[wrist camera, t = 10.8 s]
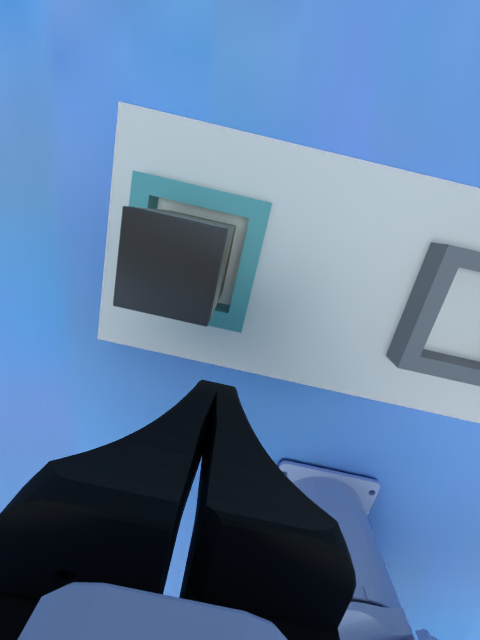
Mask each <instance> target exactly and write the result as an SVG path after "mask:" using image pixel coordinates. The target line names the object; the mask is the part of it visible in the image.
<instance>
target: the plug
mask: <svg viewBox="0 0 480 640" xmlns="http://www.w3.org/2000/svg"><path fill="white" fill-rule="evenodd" d="M235 230H236V226H235V225H231V224H226V223H222V222H218V221H213V220H209V219H205V218H200V217H196V216H192V215H187V214H183V213H179V212H175V211H170V210H161V209H150V208H140V207H129V206H123V209H122V219H121V229H120V239H119V249H118V259H117V269H116V279H115V288H114V298H113V306H116V307H121V308H125V309H130V310H134V311H138V312H143V313H147V314H152V315H156V316H161V317H165V318H170V319H174V320H179V321H183V322H188V323H192V324H197V325H201V326H206V327H207V326H208V323H209V321H210V319H211V317H212V314H213V312H214V310H215V307H216V305H217V303H218V300H219V298H220V296H221V294H222V291H223V287H224V282H225V277H226V273H227V268H228V263H229V258H230V254H231V249H232V244H233V239H234V234H235Z"/></svg>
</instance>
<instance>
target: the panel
mask: <svg viewBox="0 0 480 640" xmlns="http://www.w3.org/2000/svg"><path fill="white" fill-rule="evenodd" d="M123 206H129V207H140V208H150V209H161V210H170V211H175V212H179V213H183V214H187V215H192V216H196V217H200V218H205V219H209V220H213V221H218V222H222V223H226V224H231V225H235V226H236V230H235V234H234V239H233V244H232V249H231V254H230V258H229V263H228V268H227V273H226V277H225V282H224V287H223V291H222V294H221V296H220V298H219V300H218V303H217V305H216V307H215V310H214V312H213V314H212V317H211V319H210V321H209V323H208V326H207V327H206V326H201V325H197V324H192V323H188V322H183V321H179V320H174V319H170V318H165V317H161V316H156V315H152V314H147V313H143V312H138V311H134V310H130V309H125V308H121V307H116V306H113V298H114V288H115V279H116V269H117V259H118V249H119V239H120V229H121V219H122V209H123ZM98 339H100V340H104V341H109V342H114V343H118V344H123V345H127V346H132V347H136V348H141V349H145V350H150V351H154V352H159V353H163V354H168V355H172V356H177V357H182V358H186V359H191V360H195V361H200V362H204V363H209V364H213V365H218V366H222V367H227V368H231V369H236V370H240V371H245V372H250V373H254V374H259V375H263V376H268V377H272V378H277V379H281V380H286V381H290V382H295V383H299V384H304V385H308V386H313V387H317V388H322V389H327V390H331V391H336V392H340V393H345V394H349V395H354V396H358V397H363V398H367V399H372V400H376V401H381V402H385V403H390V404H395V405H399V406H404V407H408V408H413V409H417V410H422V411H426V412H431V413H435V414H440V415H444V416H449V417H453V418H458V419H463V420H467V421H472V422H476V423H480V188H477V187H473V186H468V185H464V184H460V183H456V182H452V181H448V180H443V179H439V178H435V177H431V176H427V175H423V174H419V173H414V172H410V171H406V170H402V169H398V168H394V167H389V166H385V165H381V164H377V163H373V162H369V161H365V160H360V159H356V158H352V157H348V156H344V155H340V154H335V153H331V152H327V151H323V150H319V149H315V148H310V147H306V146H302V145H298V144H294V143H290V142H286V141H281V140H277V139H273V138H269V137H265V136H261V135H256V134H252V133H248V132H244V131H240V130H236V129H232V128H227V127H223V126H219V125H215V124H211V123H207V122H202V121H198V120H194V119H190V118H186V117H182V116H178V115H173V114H169V113H165V112H161V111H157V110H153V109H148V108H144V107H140V106H136V105H132V104H128V103H124V102H119V105H118V116H117V127H116V138H115V149H114V160H113V172H112V183H111V194H110V205H109V216H108V227H107V239H106V250H105V261H104V272H103V283H102V294H101V306H100V317H99V328H98Z"/></svg>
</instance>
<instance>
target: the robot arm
mask: <svg viewBox="0 0 480 640" xmlns="http://www.w3.org/2000/svg"><path fill="white" fill-rule="evenodd" d="M201 457H202V463H201V471H200V480H199V489H198V498H197V507H196V515H195V522H194V528H193V533H192V538H191V543H190V548H189V552H188V557H187V562H186V567H185V572H184V577H183V582H182V587H181V592H180V597H179V598H177V597H172V596H167V595H163V592H164V587H165V583H166V579H167V575H168V571H169V567H170V562H171V558H172V554H173V550H174V546H175V542H176V537H177V533H178V529H179V525H180V521H181V518H182V514H183V511H184V508H185V505H186V502H187V499H188V496H189V493H190V490H191V487H192V484H193V481H194V478H195V475H196V472H197V469H198V466H199V463H200V460H201ZM283 471H285V472H286V473H283ZM370 490H372V491H370ZM379 490H380V484H379V482H378V481H377V480H375V479H371V478H366V477H361V476H357V475H352V474H347V473H343V472H338V471H333V470H329V469H324V468H319V467H314V466H310V465H305V464H300V463H296V462H291V461H285V460H284V461H282V462H280V463H279V466H277V465H276V464H275V463H274V461H273V460H272V459H271V458H270V456H269V455H268V454H267V452H266V451H265V449H264V448H263V446H262V445H261V443H260V442H259V440H258V438H257V437H256V435H255V433H254V431H253V430H252V428H251V426H250V424H249V422H248V419H247V417H246V415H245V413H244V411H243V408H242V406H241V403H240V400H239V397H238V394H237V390H236V388H235V387H233V386H228V385H224V384H219V383H215V382H210V381H205V380H201V381H199V382H198V383H197V385H196V386H195V387H194V388H193V389H192V390H191V391H190V392H189V393H188V394H187V395H186V396H185V397H184V398H183V399H182V400H181V401H180V402H178V403H177V404H176V405H175V406H174V407H172V408H171V409H170V410H169V411H167V412H166V413H165V414H163V415H162V416H161V417H159V418H158V419H156V420H155V421H153V422H152V423H150V424H148V425H147V426H145V427H143V428H142V429H140V430H138V431H136V432H134V433H132V434H130V435H128V436H126V437H124V438H122V439H119V440H117V441H114V442H112V443H109V444H107V445H104V446H101V447H98V448H96V449H93V450H90V451H86V452H83V453H79V454H76V455H72V456H68V457H64V458H61V459H57V460H53V461H49V462H48V463H47V464H46V465H45V466H44V467H43V468H42V469H41V470H40V471H39V472H38V473H37V474H36V475H35V476H33V477H32V478H31V480H30V481H29V482H28V483H27V484H26V485H25V486H24V487H23V488H22V489H21V490H20V491H19V492H18V494H17V495H16V496H15V497H14V498H13V499H12V501H11V502H10V503H9V504H8V505H7V506H6V508H5V509H4V510H3V511H2V512H1V513H0V640H415V638H414V636H413V633H412V630H411V628H410V625H409V623H408V620H407V618H406V615H405V613H404V610H403V608H402V607H401V605H400V603H399V600H398V597H397V595H396V592H395V589H394V587H393V584H392V582H391V579H390V576H389V574H388V571H387V568H386V566H385V563H384V560H383V558H382V555H381V552H380V550H379V547H378V544H377V542H376V539H375V537H374V534H373V531H372V529H371V526H370V523H369V521H368V518H367V516H368V514H369V512H370V510H371V507H372V505H373V503H374V501H375V499H376V496H377V494H378V492H379ZM415 632H416V634H417V637H418V640H438V639H436V638H435V637H433V636H431V635H430V633H429V632H428V631H427V630H426V629H422V630H418V631H415Z"/></svg>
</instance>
